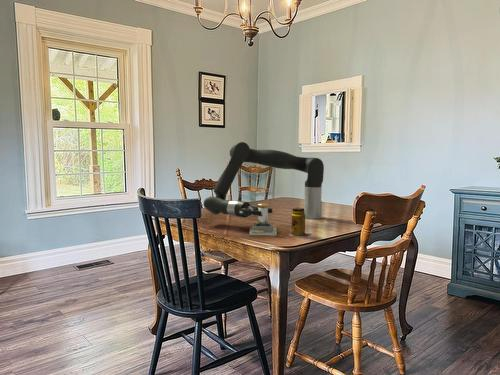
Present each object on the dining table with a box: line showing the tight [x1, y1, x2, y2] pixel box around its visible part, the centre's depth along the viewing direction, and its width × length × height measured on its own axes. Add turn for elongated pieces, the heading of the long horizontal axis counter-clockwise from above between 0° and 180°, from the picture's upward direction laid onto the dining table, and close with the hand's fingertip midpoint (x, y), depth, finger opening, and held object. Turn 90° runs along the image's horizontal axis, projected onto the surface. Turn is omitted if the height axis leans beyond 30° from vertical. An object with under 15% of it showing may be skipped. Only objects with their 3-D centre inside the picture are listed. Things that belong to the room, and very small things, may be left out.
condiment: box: [288, 207, 310, 238], centre depth 169 cm, size 7×8×12 cm
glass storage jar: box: [257, 202, 269, 226], centre depth 173 cm, size 5×5×12 cm
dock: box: [248, 222, 278, 237], centre depth 173 cm, size 12×12×4 cm
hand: (266, 212), depth 172 cm, fingers open, 8 cm apart
